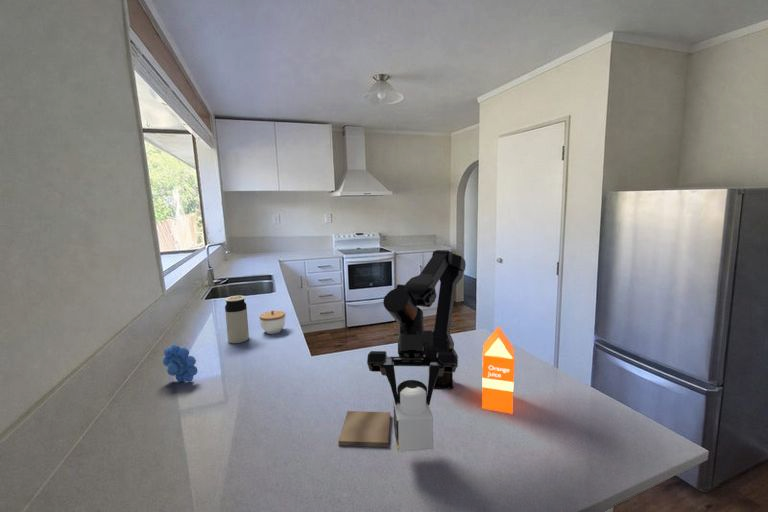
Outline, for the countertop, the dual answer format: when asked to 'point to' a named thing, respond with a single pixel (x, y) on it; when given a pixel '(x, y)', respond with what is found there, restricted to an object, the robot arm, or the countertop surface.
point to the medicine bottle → (413, 417)
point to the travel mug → (236, 319)
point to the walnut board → (365, 429)
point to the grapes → (180, 363)
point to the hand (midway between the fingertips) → (412, 404)
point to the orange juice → (498, 373)
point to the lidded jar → (272, 321)
